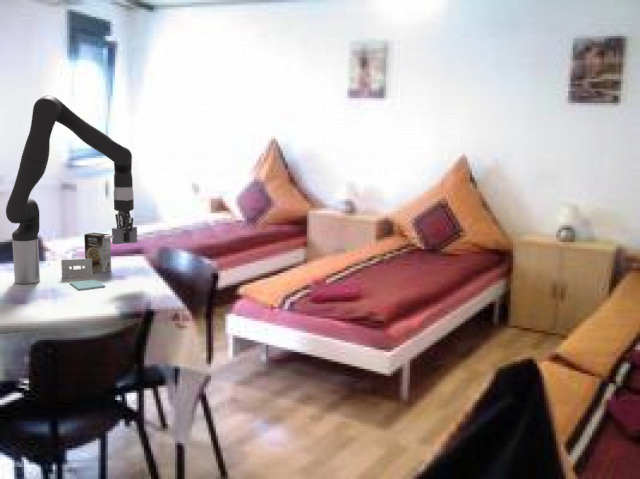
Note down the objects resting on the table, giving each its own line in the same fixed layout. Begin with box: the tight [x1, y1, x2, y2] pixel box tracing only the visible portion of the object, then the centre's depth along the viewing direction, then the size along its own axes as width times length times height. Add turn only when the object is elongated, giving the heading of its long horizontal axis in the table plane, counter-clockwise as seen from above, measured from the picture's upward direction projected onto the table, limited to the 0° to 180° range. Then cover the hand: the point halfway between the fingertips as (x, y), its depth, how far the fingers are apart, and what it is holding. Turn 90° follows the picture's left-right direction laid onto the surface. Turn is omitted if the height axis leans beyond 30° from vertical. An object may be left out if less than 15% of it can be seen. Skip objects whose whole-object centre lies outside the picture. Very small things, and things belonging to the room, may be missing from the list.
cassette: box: [60, 258, 94, 279], centre depth 271 cm, size 12×2×8 cm, turn 108°
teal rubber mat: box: [69, 278, 106, 291], centre depth 259 cm, size 12×10×1 cm
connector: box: [104, 225, 138, 245], centre depth 261 cm, size 4×13×6 cm, turn 127°
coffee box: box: [83, 232, 112, 274], centre depth 283 cm, size 9×6×16 cm
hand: (124, 240), depth 262 cm, fingers closed on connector, 4 cm apart
